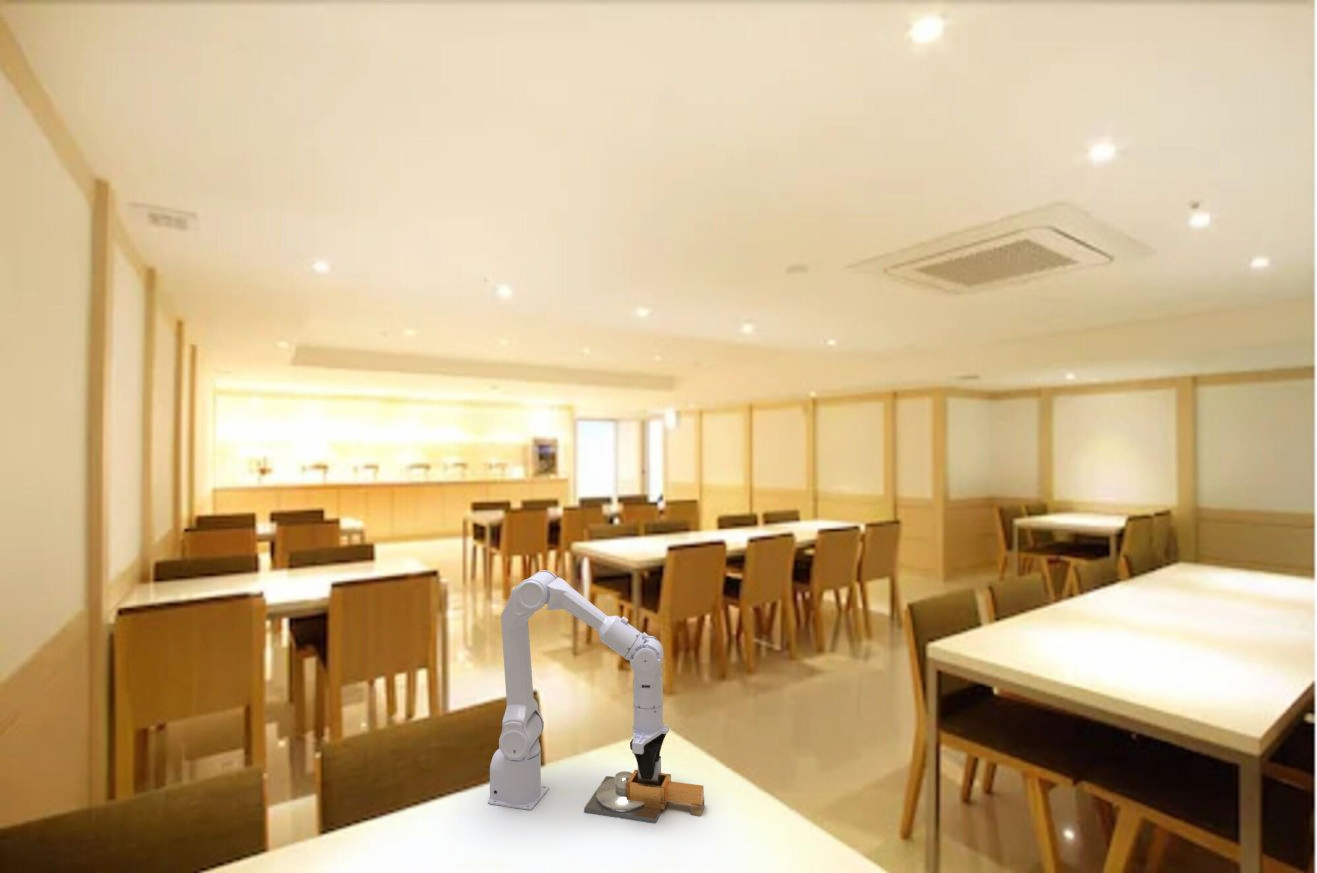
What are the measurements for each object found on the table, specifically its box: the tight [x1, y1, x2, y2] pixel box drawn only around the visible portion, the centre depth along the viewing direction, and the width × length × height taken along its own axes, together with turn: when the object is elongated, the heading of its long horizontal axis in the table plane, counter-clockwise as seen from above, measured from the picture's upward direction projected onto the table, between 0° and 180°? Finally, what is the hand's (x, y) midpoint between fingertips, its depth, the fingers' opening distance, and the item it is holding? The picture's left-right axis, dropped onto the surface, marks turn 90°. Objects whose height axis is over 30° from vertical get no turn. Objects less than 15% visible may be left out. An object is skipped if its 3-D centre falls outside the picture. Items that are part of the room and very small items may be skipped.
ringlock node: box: [583, 769, 705, 824], centre depth 119 cm, size 22×12×5 cm, turn 74°
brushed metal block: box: [637, 755, 662, 786], centre depth 119 cm, size 4×2×7 cm, turn 74°
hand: (648, 774), depth 119 cm, fingers closed on brushed metal block, 2 cm apart
